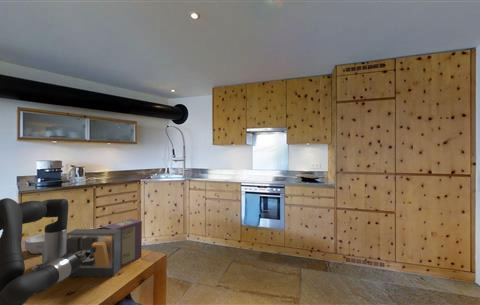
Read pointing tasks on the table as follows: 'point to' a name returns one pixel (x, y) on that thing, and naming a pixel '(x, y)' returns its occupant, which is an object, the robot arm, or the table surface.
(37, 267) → the lighter
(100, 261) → the panel
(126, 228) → the box
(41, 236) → the paper bowls
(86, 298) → the table surface
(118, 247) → the box
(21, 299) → the robot arm
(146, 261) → the table surface
